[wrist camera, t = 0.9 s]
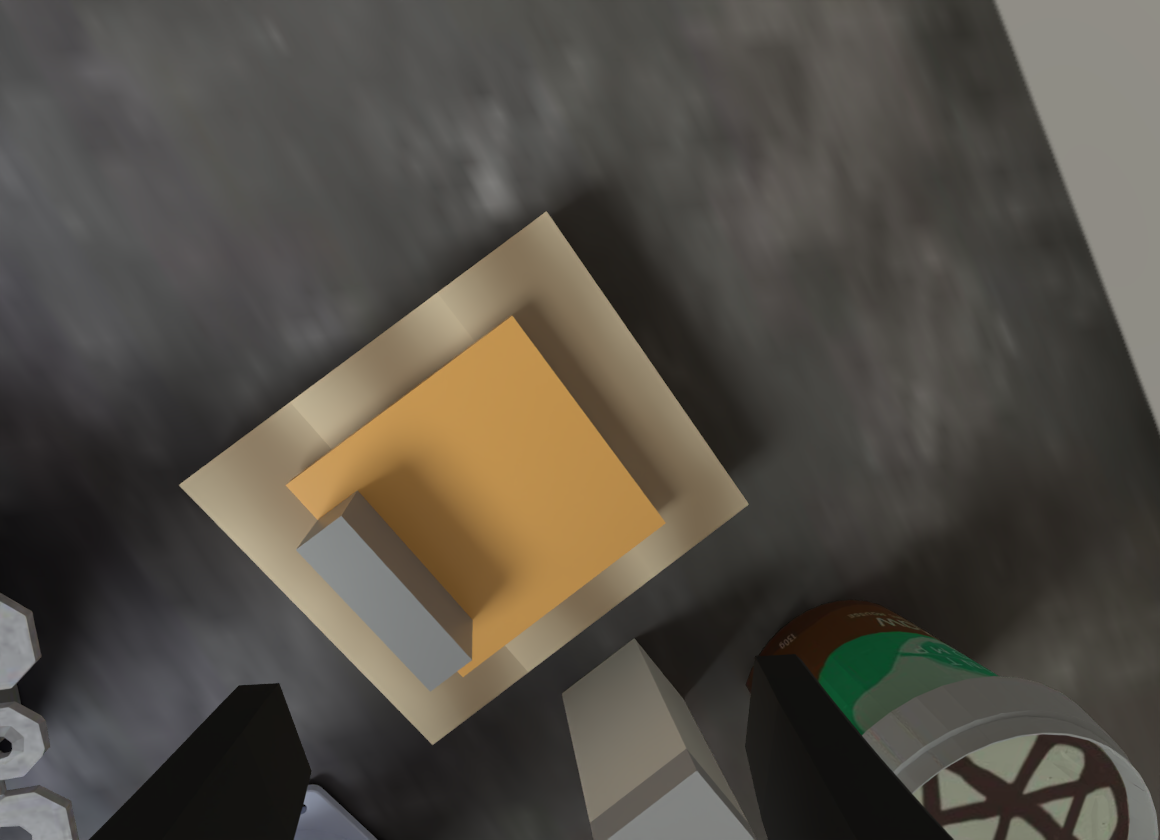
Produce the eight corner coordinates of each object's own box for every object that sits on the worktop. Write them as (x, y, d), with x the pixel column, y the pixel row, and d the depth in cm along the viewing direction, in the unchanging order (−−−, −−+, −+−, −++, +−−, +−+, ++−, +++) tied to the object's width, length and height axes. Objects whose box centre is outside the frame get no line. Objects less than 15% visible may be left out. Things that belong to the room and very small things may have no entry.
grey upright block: (613, 752, 28) (664, 922, 21) (561, 693, 27) (595, 848, 20) (683, 698, 28) (761, 848, 21) (634, 638, 27) (696, 770, 20)
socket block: (437, 696, 26) (432, 745, 23) (216, 462, 23) (178, 485, 20) (719, 482, 27) (749, 504, 24) (538, 222, 24) (546, 211, 21)
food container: (984, 597, 30) (1226, 737, 20) (943, 711, 31) (1157, 898, 21) (752, 555, 28) (902, 692, 18) (715, 681, 28) (839, 876, 19)
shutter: (462, 664, 23) (461, 723, 20) (292, 478, 21) (258, 510, 17) (659, 515, 23) (689, 549, 20) (510, 315, 21) (517, 317, 18)
